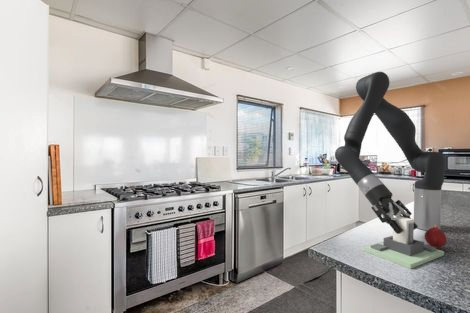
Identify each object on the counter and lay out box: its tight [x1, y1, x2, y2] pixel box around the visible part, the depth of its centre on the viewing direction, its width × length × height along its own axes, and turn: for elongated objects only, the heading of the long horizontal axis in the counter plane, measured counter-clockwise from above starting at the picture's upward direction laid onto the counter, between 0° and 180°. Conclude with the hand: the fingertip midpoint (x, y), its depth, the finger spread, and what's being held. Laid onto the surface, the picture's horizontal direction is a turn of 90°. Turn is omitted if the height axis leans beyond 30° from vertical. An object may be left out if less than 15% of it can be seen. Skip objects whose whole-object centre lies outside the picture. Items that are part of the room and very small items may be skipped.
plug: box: [392, 216, 415, 245], centre depth 79 cm, size 4×5×10 cm
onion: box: [424, 225, 448, 250], centre depth 83 cm, size 6×6×8 cm
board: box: [363, 235, 445, 270], centre depth 79 cm, size 20×14×4 cm
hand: (408, 230), depth 78 cm, fingers open, 8 cm apart
